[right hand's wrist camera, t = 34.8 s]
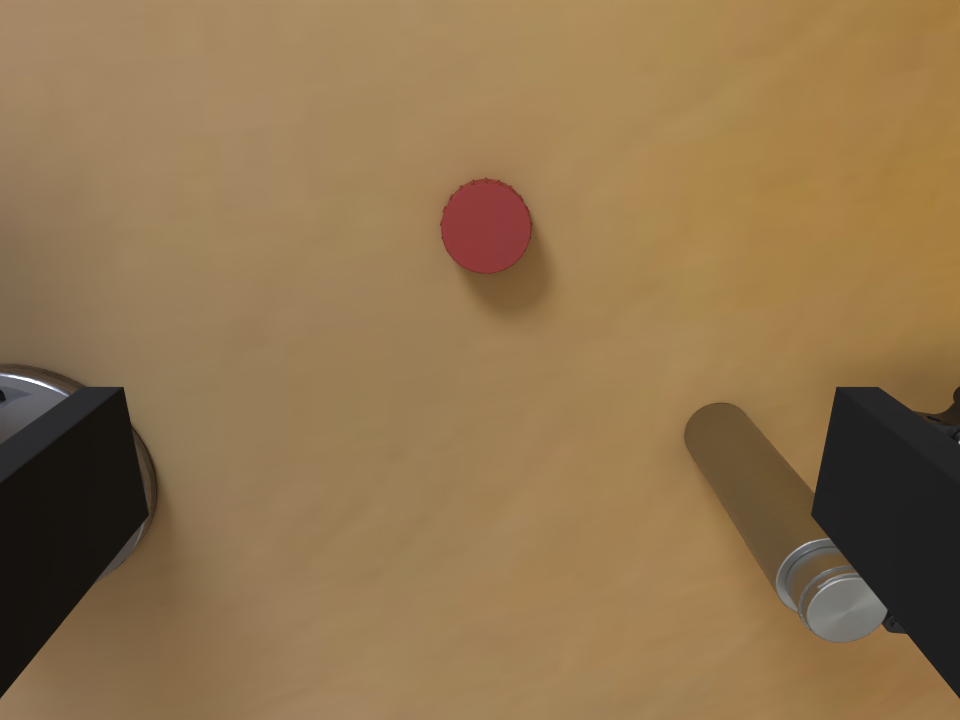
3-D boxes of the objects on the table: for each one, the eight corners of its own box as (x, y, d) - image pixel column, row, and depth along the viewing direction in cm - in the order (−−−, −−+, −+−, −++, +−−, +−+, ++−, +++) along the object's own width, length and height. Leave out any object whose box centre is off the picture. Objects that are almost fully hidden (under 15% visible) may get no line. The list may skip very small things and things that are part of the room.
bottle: (763, 433, 42) (919, 612, 27) (710, 473, 43) (833, 667, 28) (723, 390, 41) (863, 551, 26) (671, 431, 42) (776, 610, 27)
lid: (424, 211, 37) (421, 217, 35) (497, 159, 36) (498, 162, 34) (474, 281, 39) (473, 292, 36) (545, 233, 38) (549, 241, 36)
